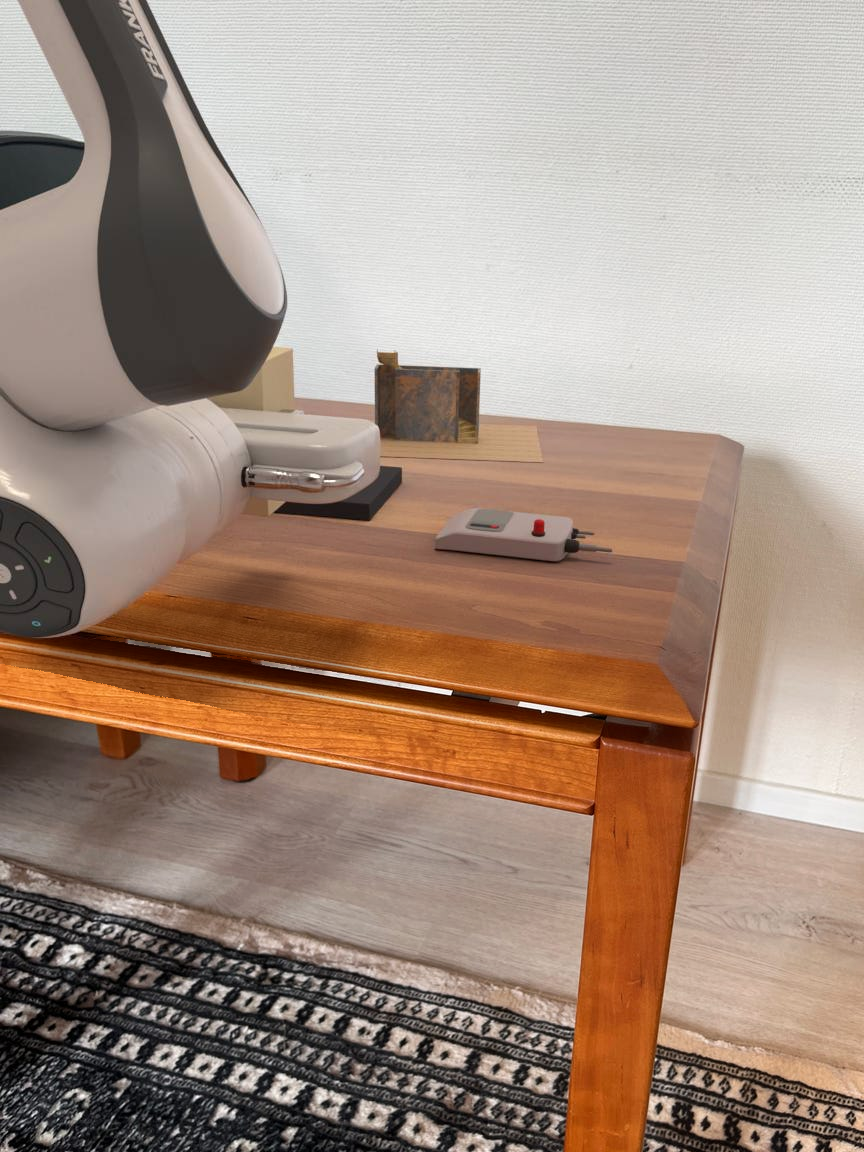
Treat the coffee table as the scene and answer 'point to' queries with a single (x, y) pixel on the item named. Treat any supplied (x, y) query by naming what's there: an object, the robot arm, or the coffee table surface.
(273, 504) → the tall beige rectangular block
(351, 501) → the base pad
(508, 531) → the grey electronic control box
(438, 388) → the architectural model on board
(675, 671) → the coffee table surface
